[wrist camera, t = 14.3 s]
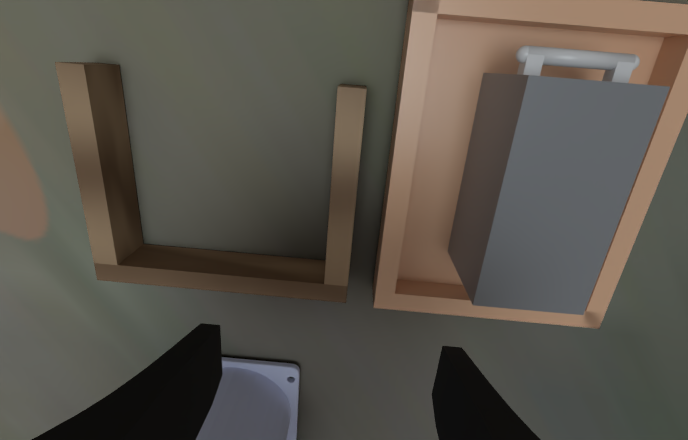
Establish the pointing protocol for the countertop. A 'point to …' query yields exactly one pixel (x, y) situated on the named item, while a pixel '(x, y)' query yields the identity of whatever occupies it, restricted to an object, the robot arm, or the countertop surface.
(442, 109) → the tray
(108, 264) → the bay
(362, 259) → the countertop surface
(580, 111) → the caddy
